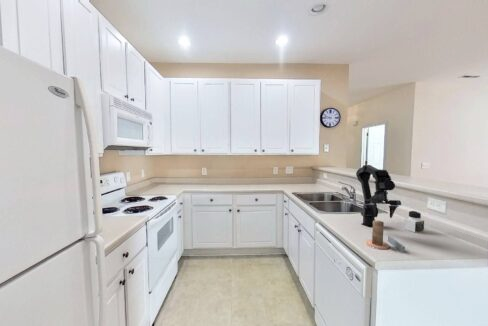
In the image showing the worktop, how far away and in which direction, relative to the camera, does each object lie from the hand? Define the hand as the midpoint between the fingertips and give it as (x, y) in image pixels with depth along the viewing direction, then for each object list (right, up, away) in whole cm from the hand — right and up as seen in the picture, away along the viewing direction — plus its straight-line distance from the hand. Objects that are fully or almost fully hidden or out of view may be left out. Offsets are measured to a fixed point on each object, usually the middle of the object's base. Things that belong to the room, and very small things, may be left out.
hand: (382, 217), depth 137 cm
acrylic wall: (-2, -12, -14) cm, 19 cm away
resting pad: (-10, -12, -12) cm, 20 cm away
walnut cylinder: (-10, -12, -12) cm, 20 cm away
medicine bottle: (+25, -11, +9) cm, 29 cm away
